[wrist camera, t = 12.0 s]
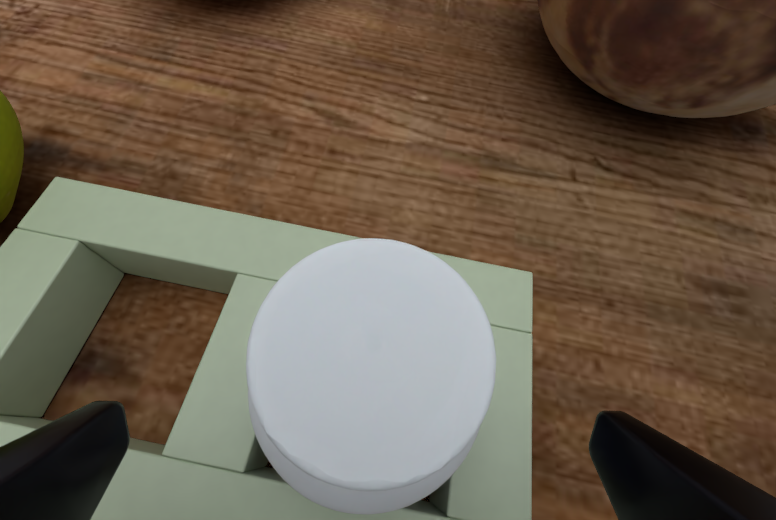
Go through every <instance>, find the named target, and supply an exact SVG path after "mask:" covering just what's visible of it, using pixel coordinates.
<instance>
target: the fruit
mask: <svg viewBox="0 0 776 520" xmlns="http://www.w3.org/2000/svg"><path fill="white" fill-rule="evenodd" d="M23 158H24V144H23V137H22V132H21V127H20V124H19V121H18V118H17V115H16V113H15V111H14V110H13V108H12V106H11V104H10V103H9V101H8V100H7V98H6V97H5V96H4V94H3V93H2V92H1V91H0V223H1V222H2V221H3V220H4V219H5V217H6V216H7V215H8V213H9V212H10V210H11V208H12V205H13V203H14V200H15V195H16V192H17V188H18V185H19V181H20V177H21V172H22V166H23Z"/></svg>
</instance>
